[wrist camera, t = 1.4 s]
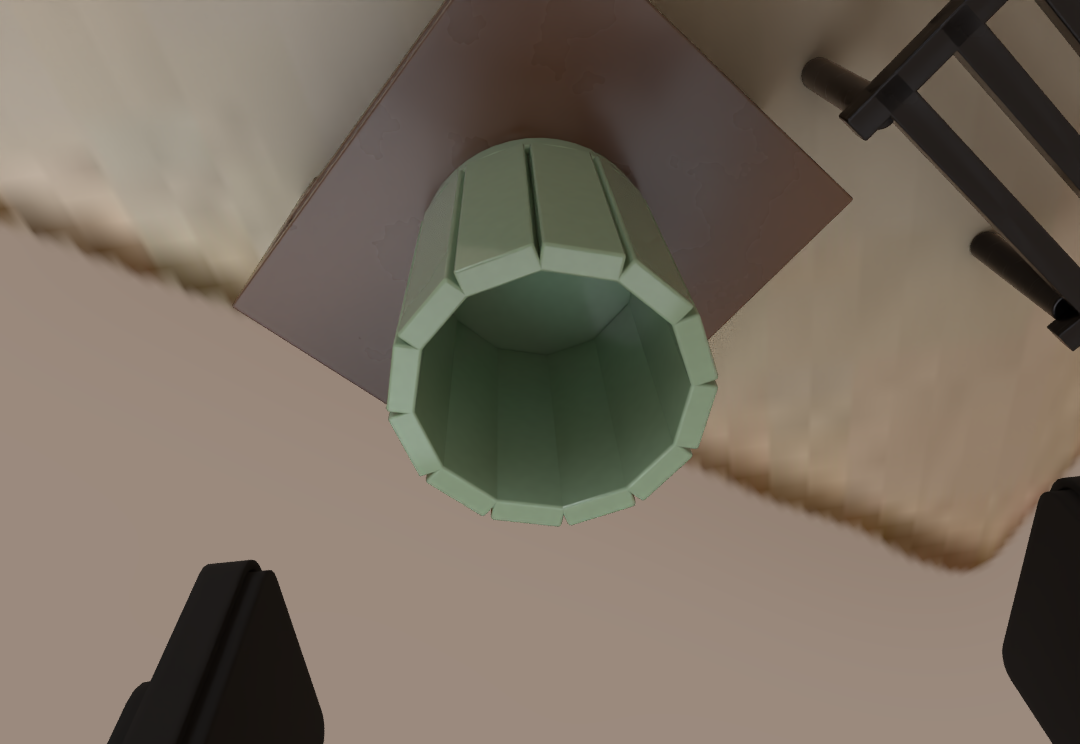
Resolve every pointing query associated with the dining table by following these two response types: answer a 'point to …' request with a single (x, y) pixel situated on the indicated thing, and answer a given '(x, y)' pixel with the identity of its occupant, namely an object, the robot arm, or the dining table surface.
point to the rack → (959, 29)
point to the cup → (546, 340)
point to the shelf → (538, 112)
